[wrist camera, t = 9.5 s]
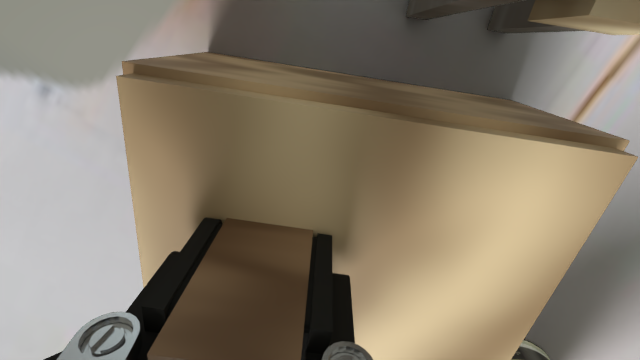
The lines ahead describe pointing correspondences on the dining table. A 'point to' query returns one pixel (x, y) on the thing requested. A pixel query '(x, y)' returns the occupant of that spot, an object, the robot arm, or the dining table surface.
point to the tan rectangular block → (590, 15)
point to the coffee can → (529, 352)
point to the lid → (353, 220)
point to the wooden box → (385, 94)
